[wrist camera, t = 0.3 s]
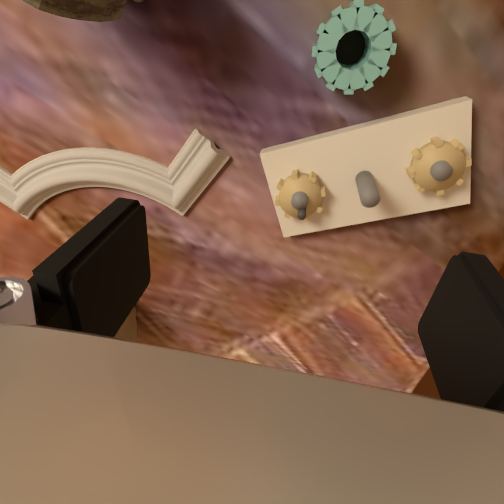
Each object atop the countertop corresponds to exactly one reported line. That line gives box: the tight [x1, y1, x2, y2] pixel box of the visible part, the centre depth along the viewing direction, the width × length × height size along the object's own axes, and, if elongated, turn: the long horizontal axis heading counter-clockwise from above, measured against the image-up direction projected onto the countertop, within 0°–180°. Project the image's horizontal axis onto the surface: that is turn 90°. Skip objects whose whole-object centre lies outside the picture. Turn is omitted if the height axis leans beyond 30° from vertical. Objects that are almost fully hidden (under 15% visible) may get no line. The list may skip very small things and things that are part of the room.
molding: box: [0, 127, 231, 219], centre depth 49 cm, size 42×12×3 cm, turn 96°
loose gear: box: [312, 0, 397, 95], centre depth 35 cm, size 8×8×5 cm
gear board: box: [260, 96, 472, 237], centre depth 40 cm, size 12×23×8 cm, turn 107°
